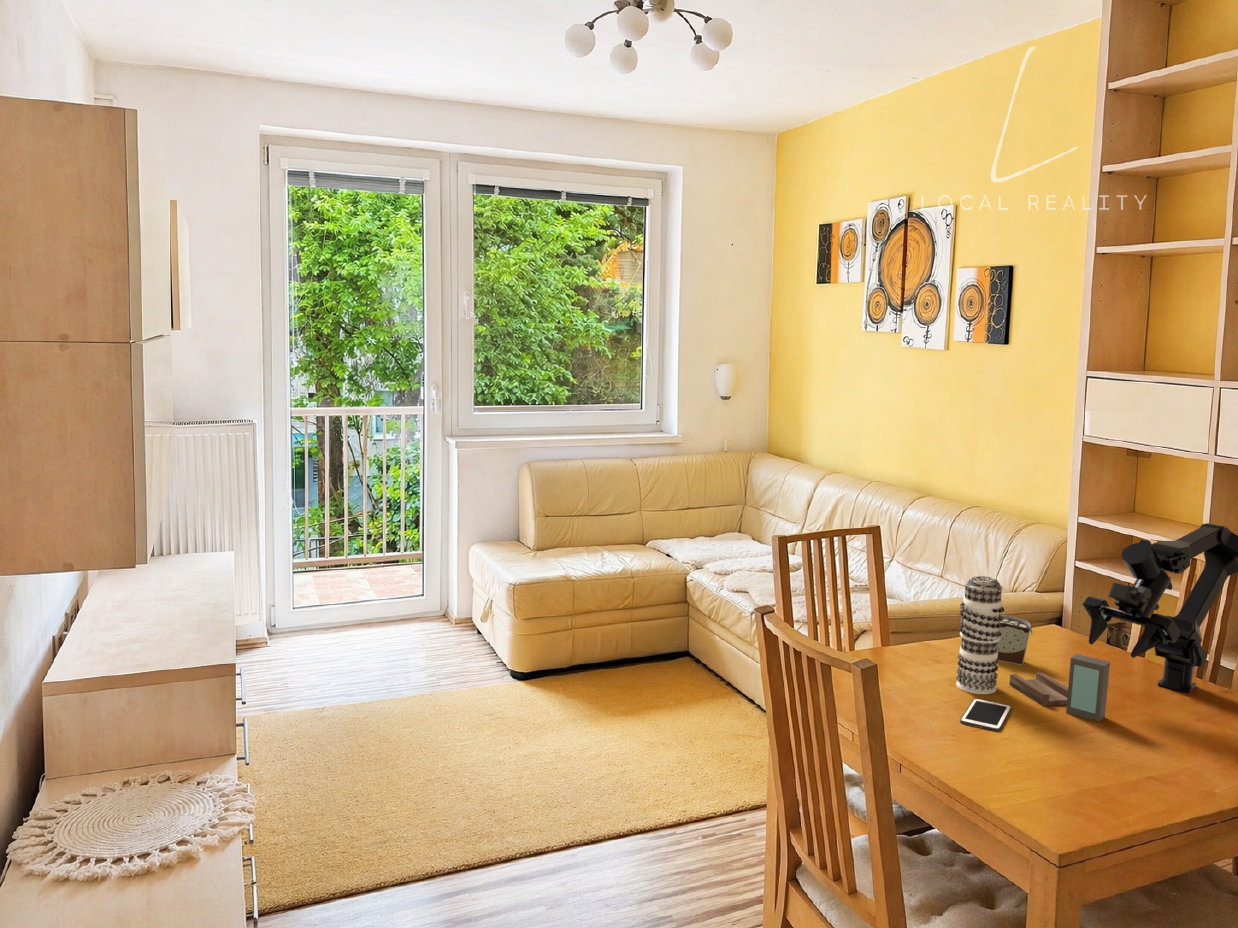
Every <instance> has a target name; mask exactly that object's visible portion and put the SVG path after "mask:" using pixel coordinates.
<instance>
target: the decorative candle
mask: <svg viewBox="0 0 1238 928" xmlns="http://www.w3.org/2000/svg"><path fill="white" fill-rule="evenodd" d="M963 584H964V587H965V588H964V589H965V590H964V596H963V600H962V602H961V603H960V605H959V606H960V610H959V615H960V616H961V618H960V619H959V624H960V625H959V628H958V630H959V631H960V632H959V635H960V637H961V639H960V640H961V641H960V644H961V645H960V647H959V654H958V655H957V658H958V660H957V665H958V667H957V668H956V673H957V675H956V676H955V677H956V678H955V679H956V682H955V684H956V687H957V688H958V689H959V690H961V691H964V692H967V693H971V694H976V695H991V694H994V693H995V692H996V691H997V687H996V686H997V685H998V684H997V683H998V680H997V679H998V673H997V671H998V670H999V669H998V668H999V666H998V664H999V662H1000V661H999V660H998V659H997V657H998V651H997V645H998V642H999V640H1000V637H999V636H1001V632H999V631H998V628H1000V627H1002V623H1000V622H999V621H1001V620H1003V617H1002V616H1001V615H1002V614H1000V613H1003V612H1005V608H1004V607H1003V606H1002V605H1003V604H1002V603H1003V601H1002V592H1003V590H1004V586H1003V585H1001V584H1000V582H999V581H998V579H997V578H994V577H991V576H985V575H984V576H983V575H977V576H971V578H969V580H968V581H965V582H964V583H963Z"/></svg>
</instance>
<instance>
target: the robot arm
mask: <svg viewBox="0 0 1238 928" xmlns="http://www.w3.org/2000/svg"><path fill="white" fill-rule="evenodd" d="M1201 554H1203V556H1204V561H1205V566H1204V567H1203V569H1202V571H1201V573H1200V575H1199V576H1198V578H1197V580H1196V581H1195V583H1194V585H1193V587H1192V589H1191V591H1190V592H1189V594H1188V596H1187V598H1186V600H1185V601H1184V603H1183V605H1182V606H1181V607H1180V610H1179V612H1178V613H1177V614H1176V615H1175V616H1171V615H1163V614H1160V613H1156V612H1155V613H1153V610H1154V611H1158V610H1159V608H1160V605H1159V601H1160V599H1162V596H1163V595H1164V593H1165V591H1166V590H1168V591H1171V590H1173V583H1172V580H1171V578H1172V577H1171V576H1169V575H1168V573H1167V572H1169V573H1173V574H1177V575H1179V574H1182V573H1184V572H1185V571H1186V570H1187V569H1188V568H1190V566H1191V560H1193V559H1194V558H1195V557H1197V556H1199V555H1201ZM1121 558H1122V560H1123V561H1124V564H1125V565H1126V568H1128V570H1129V572H1130V574H1131V576H1132V577H1133V578H1135V579H1136V580H1135V581H1134V583H1133V584H1132V585H1129V584H1128V585H1125V584H1122V583H1118V582H1112V585H1111V587H1110V590H1109V593H1108V595H1107V597H1108V598H1112V599H1114V605H1115V606H1116V607H1117V608H1118V609H1117V608H1114V607H1111V606H1110V605H1109V603H1108V601H1107V600H1106V599H1104V598H1101V597H1097V596H1092V595H1090V596H1087V597H1086V598H1084V601H1083V602H1082V606H1083V608H1084V609H1085V612H1087V614H1088V616H1089V618H1090V619H1091V620H1090V621H1091V623H1090V631H1089V638H1088V643H1089V644H1090V645H1091V646H1092V645H1094V644H1095V642H1097V640H1098V639H1099V638H1100V637H1101V635H1102V634H1103V633H1104V632H1105V630H1107V628H1108V627H1109V624H1108V622H1110V621H1111V620H1112V619H1113V618H1114V619H1118V620H1121V621H1123V622H1128V623H1131V624H1134V625H1138V626H1142V627H1144V628H1143V632H1142V634H1141V635H1140V637H1139V639H1138V640H1137V642H1136V644H1135V645H1134V647H1133V648H1132V651H1131V652H1130V657H1131V658H1132V659H1135V658H1136V657H1138V656H1140V655H1142V654H1144V653H1145V652H1147V651H1150V650H1151V649H1153V648H1154V653H1155V657H1156V656H1157V657H1159V658H1163V659H1164V662H1163V663H1164V664H1163V673H1162V678H1161V679H1160V680H1159V681H1158V682H1157V686H1160V687H1162V688H1163V687H1164V688H1166V689H1167V688H1168V689H1171V690H1176V691H1180V692H1185V693H1191V692H1192V691H1193V690H1194V689H1195V688H1196V687H1197V683H1196V682H1193V678H1194V677H1193V675H1194V668H1195V667H1198V668H1199V667H1204V666H1203V665H1204V664H1205V662H1206V658H1207V653H1206V652H1205V650H1204V648H1203V646H1202V641H1203V638H1202V633H1201V626H1202V624H1203V622H1204V620H1205V619H1206V617H1207V615H1208V614H1209V612H1210V609H1211V608H1212V607H1213V604H1214V603H1215V601H1216V598H1217V597H1218V595H1219V594H1220V592H1221V589H1222V588H1223V586H1224V584H1225V582H1226V580H1227V579H1228V578H1229V577H1230V576H1232V575H1234V574H1235V573H1238V534H1235V533H1234V532H1232V531H1231V530H1230V528H1229V527H1226V526H1225V525H1222V524H1221V525H1219V524H1216V523H1210V522H1206V523H1202V524H1201V525H1200V527H1198V528H1195V530H1192V531H1190V532H1189V533H1187V534H1185V535H1183V536H1182V537H1180V538H1177V539H1175V540H1160V541H1156V542H1153V543H1152V542H1151V540H1147V539H1140V540H1139V542H1136V543H1133V544H1130V545H1128V546H1127V547H1125V548H1123V549H1122V552H1121ZM1152 613H1153V614H1152Z"/></svg>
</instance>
